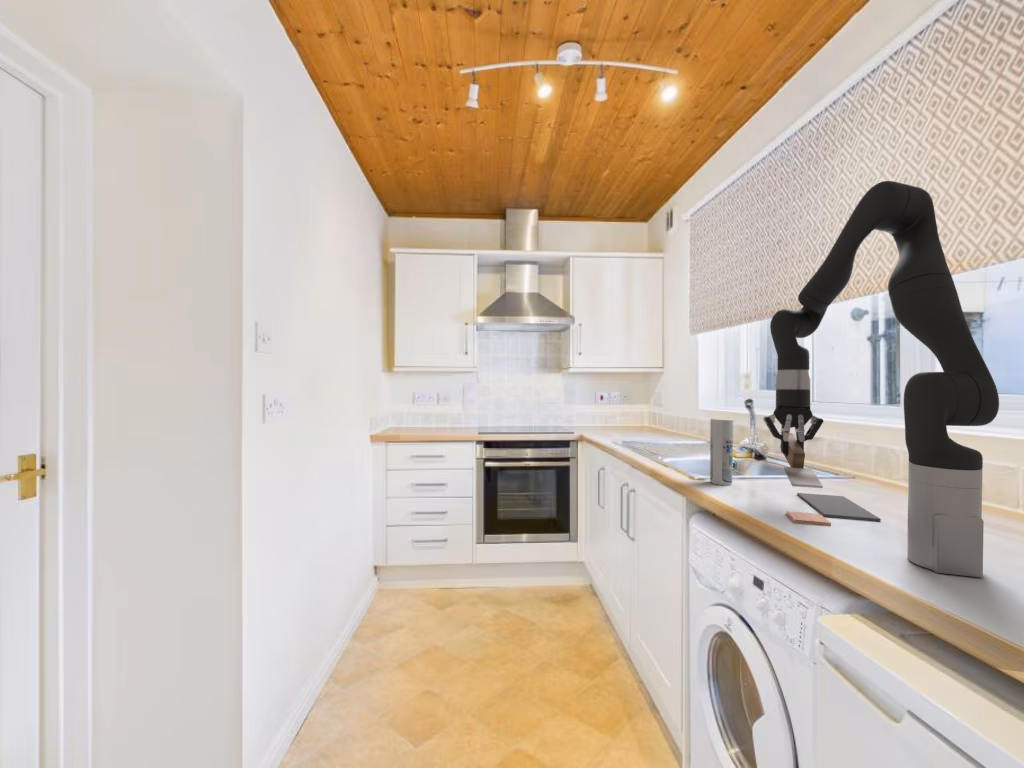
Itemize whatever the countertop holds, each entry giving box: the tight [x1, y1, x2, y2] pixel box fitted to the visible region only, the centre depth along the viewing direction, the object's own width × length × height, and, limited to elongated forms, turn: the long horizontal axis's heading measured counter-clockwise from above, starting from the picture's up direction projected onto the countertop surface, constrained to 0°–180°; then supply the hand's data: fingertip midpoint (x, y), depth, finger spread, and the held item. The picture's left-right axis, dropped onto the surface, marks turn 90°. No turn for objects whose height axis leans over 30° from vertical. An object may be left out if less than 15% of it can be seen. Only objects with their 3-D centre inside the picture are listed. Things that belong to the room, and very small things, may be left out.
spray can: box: [709, 417, 734, 486], centre depth 142 cm, size 6×6×20 cm
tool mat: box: [797, 492, 882, 522], centre depth 116 cm, size 22×11×1 cm, turn 162°
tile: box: [785, 510, 832, 526], centre depth 105 cm, size 1×7×7 cm
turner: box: [779, 432, 823, 489], centre depth 113 cm, size 20×6×4 cm, turn 162°
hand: (792, 455), depth 116 cm, fingers closed on turner, 2 cm apart
